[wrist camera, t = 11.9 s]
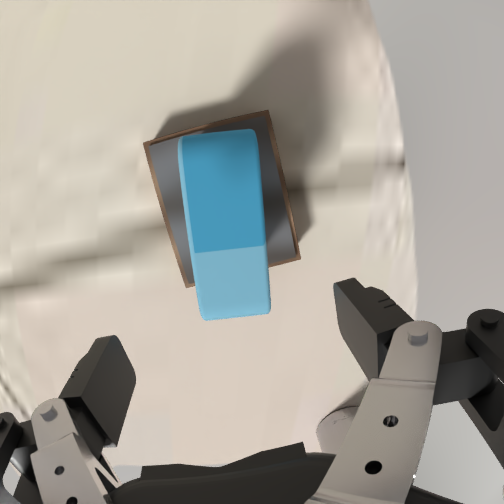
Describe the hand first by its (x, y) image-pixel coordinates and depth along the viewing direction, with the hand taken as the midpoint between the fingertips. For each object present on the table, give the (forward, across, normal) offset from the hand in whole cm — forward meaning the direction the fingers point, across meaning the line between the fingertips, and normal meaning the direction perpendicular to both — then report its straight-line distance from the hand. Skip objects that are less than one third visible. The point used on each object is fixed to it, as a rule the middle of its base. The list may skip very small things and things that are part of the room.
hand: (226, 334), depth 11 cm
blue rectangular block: (+20, 0, -1) cm, 21 cm away
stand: (+24, 0, -2) cm, 24 cm away
